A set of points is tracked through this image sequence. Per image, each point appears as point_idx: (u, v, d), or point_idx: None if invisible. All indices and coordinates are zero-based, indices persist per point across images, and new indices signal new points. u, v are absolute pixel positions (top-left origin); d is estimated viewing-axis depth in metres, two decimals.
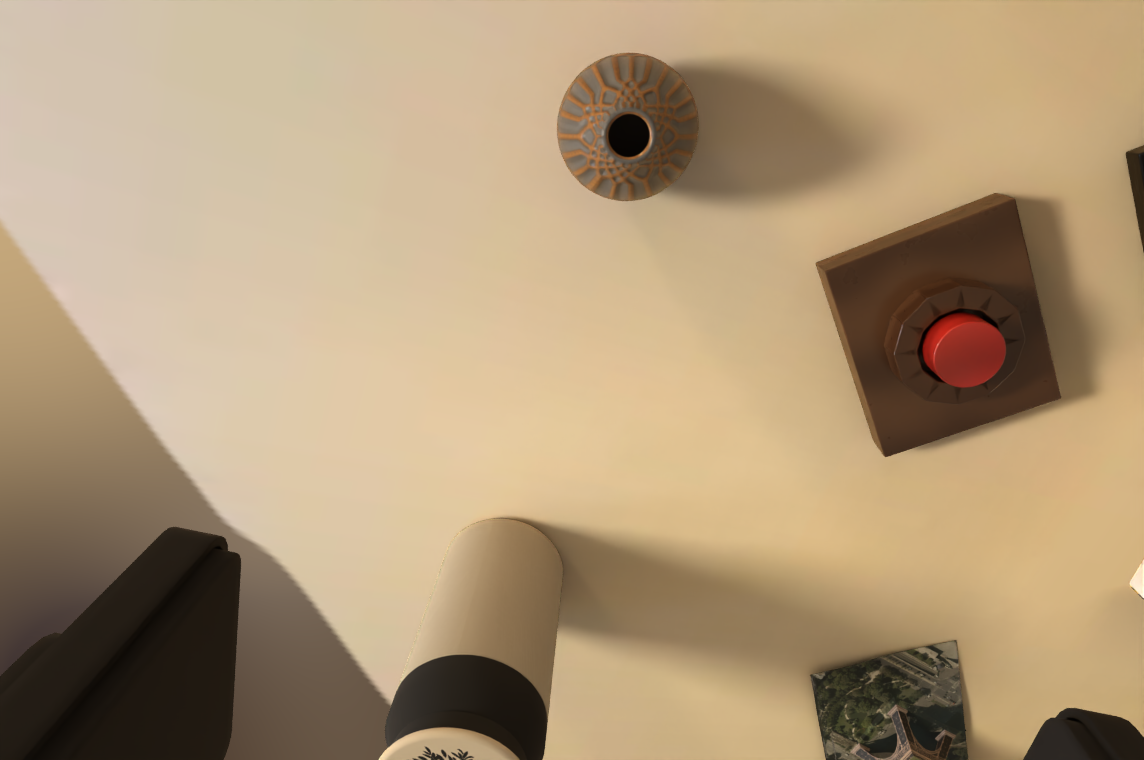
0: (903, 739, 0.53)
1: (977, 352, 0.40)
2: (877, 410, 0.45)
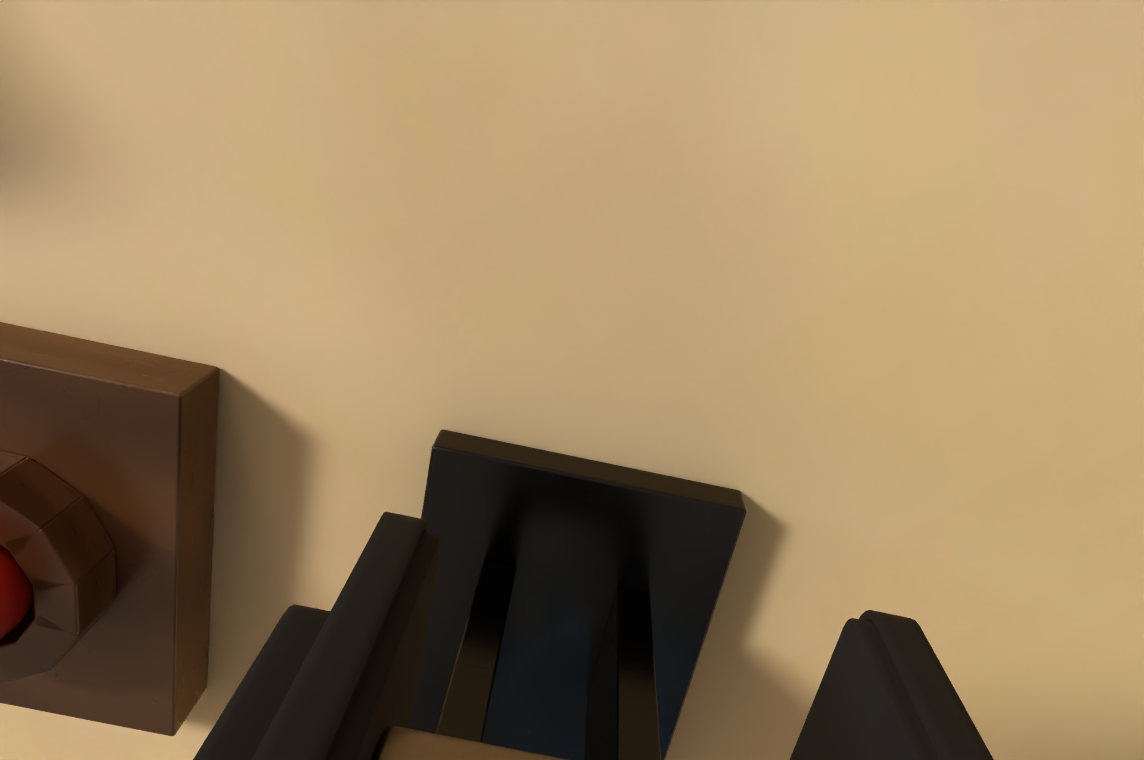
0: None
1: None
2: None
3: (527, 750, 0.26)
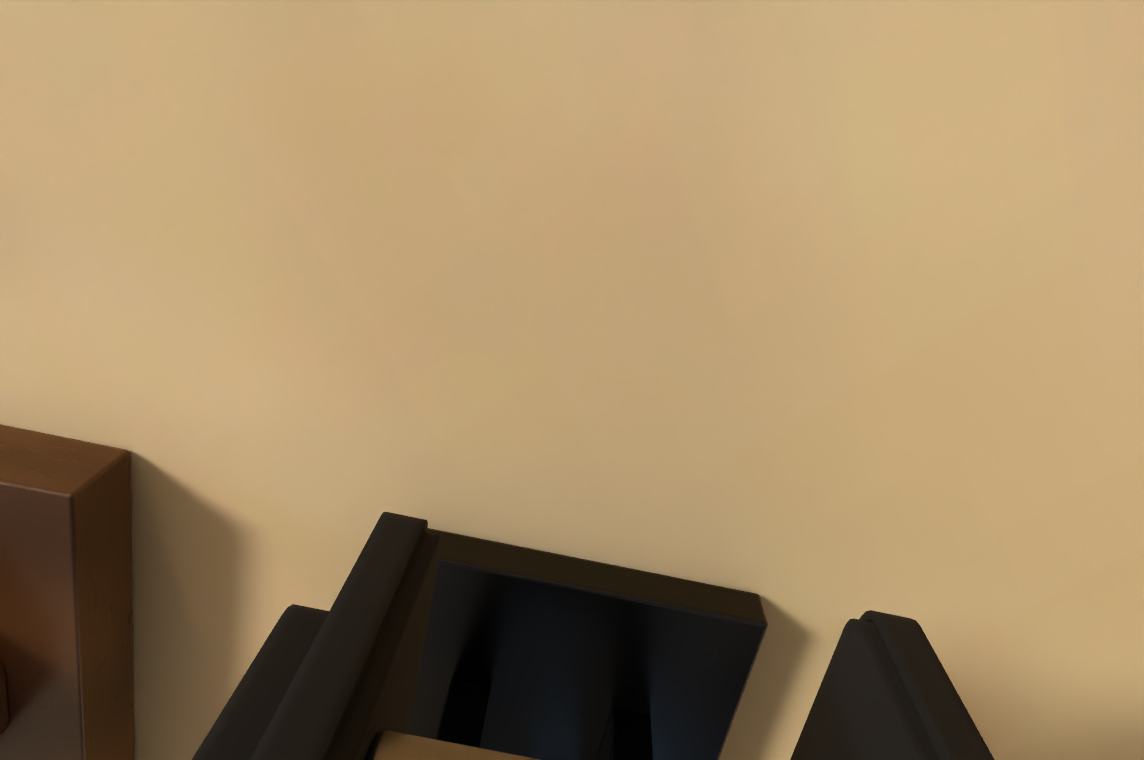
0: None
1: None
2: None
3: None
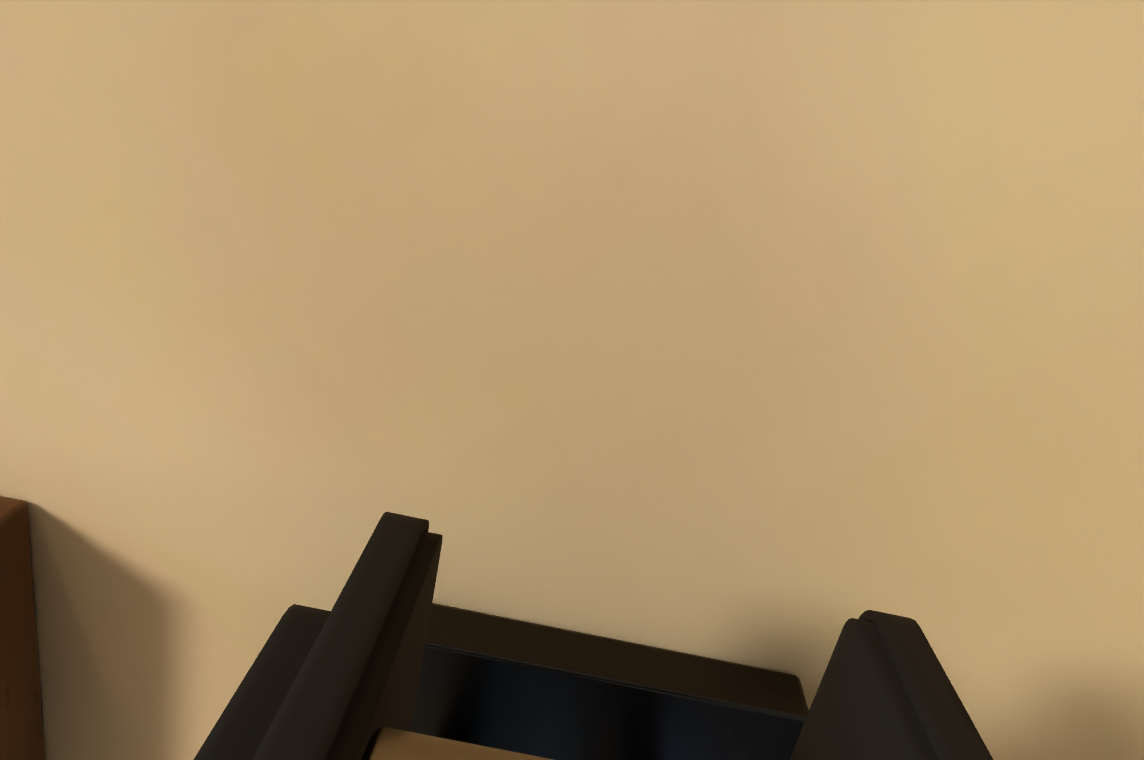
0: None
1: None
2: None
3: None
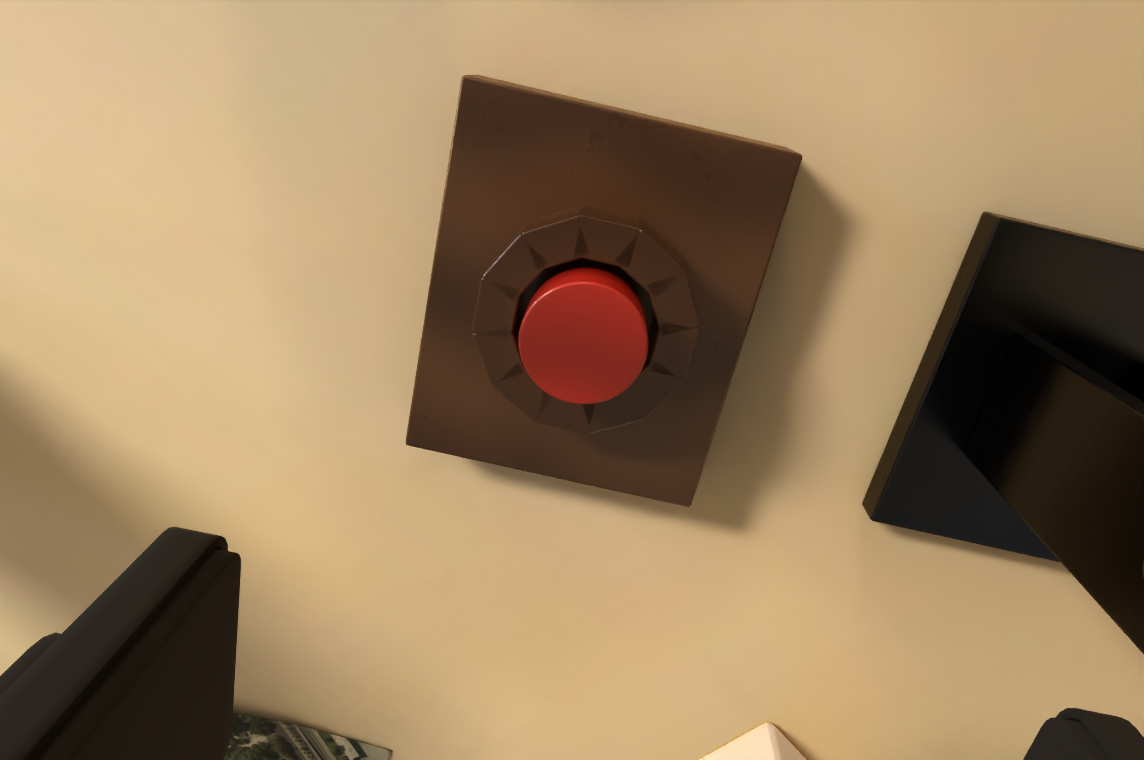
0: None
1: (596, 347, 0.22)
2: (429, 365, 0.25)
3: (1003, 530, 0.28)
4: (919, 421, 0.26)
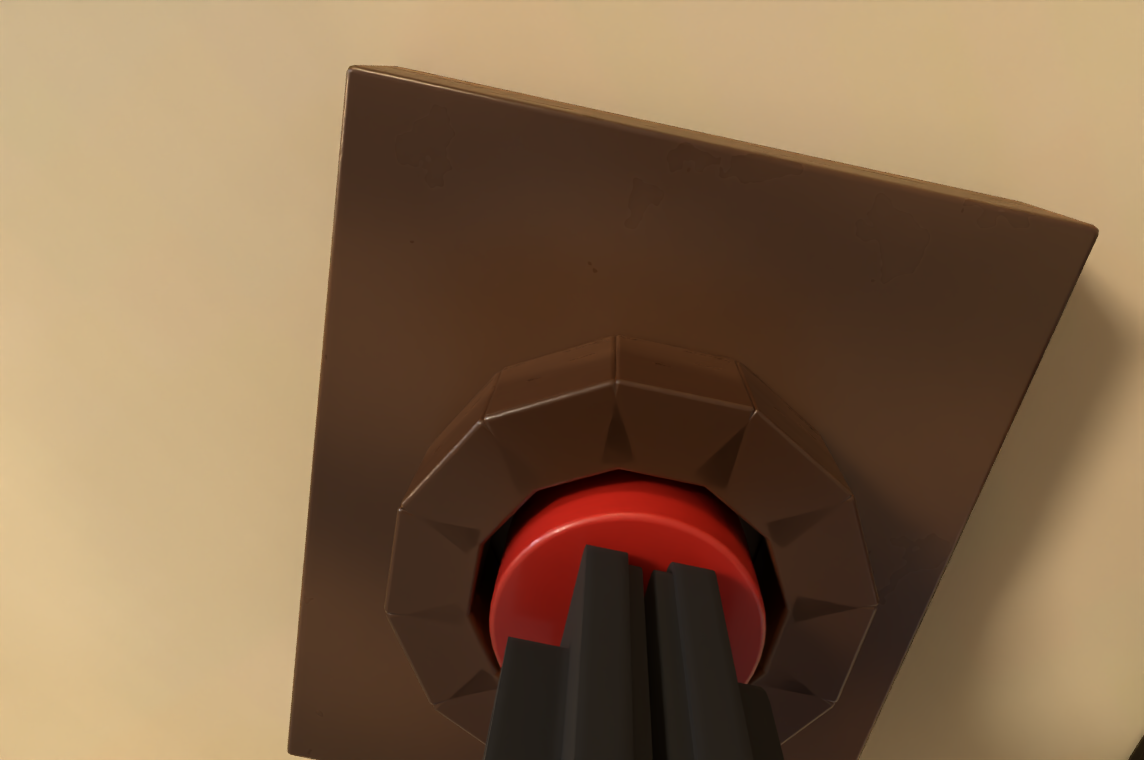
0: None
1: None
2: (321, 627, 0.13)
3: None
4: None
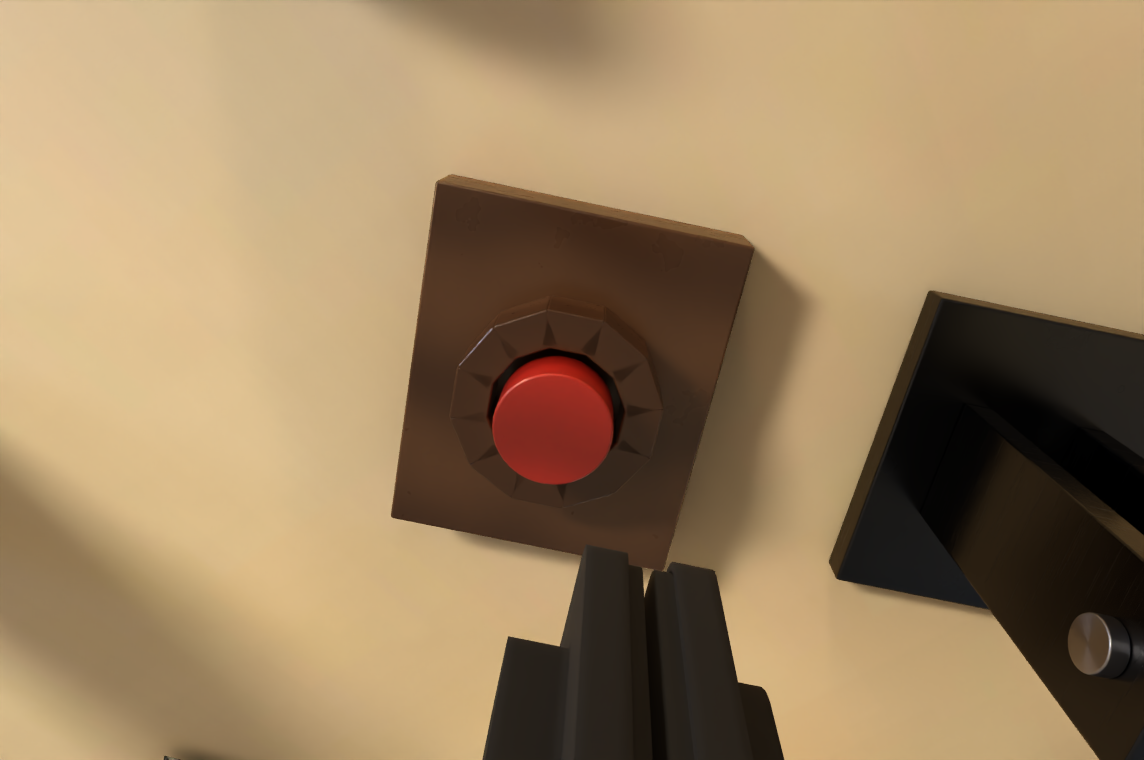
0: None
1: (564, 433, 0.23)
2: (412, 444, 0.27)
3: (962, 586, 0.29)
4: (877, 486, 0.28)
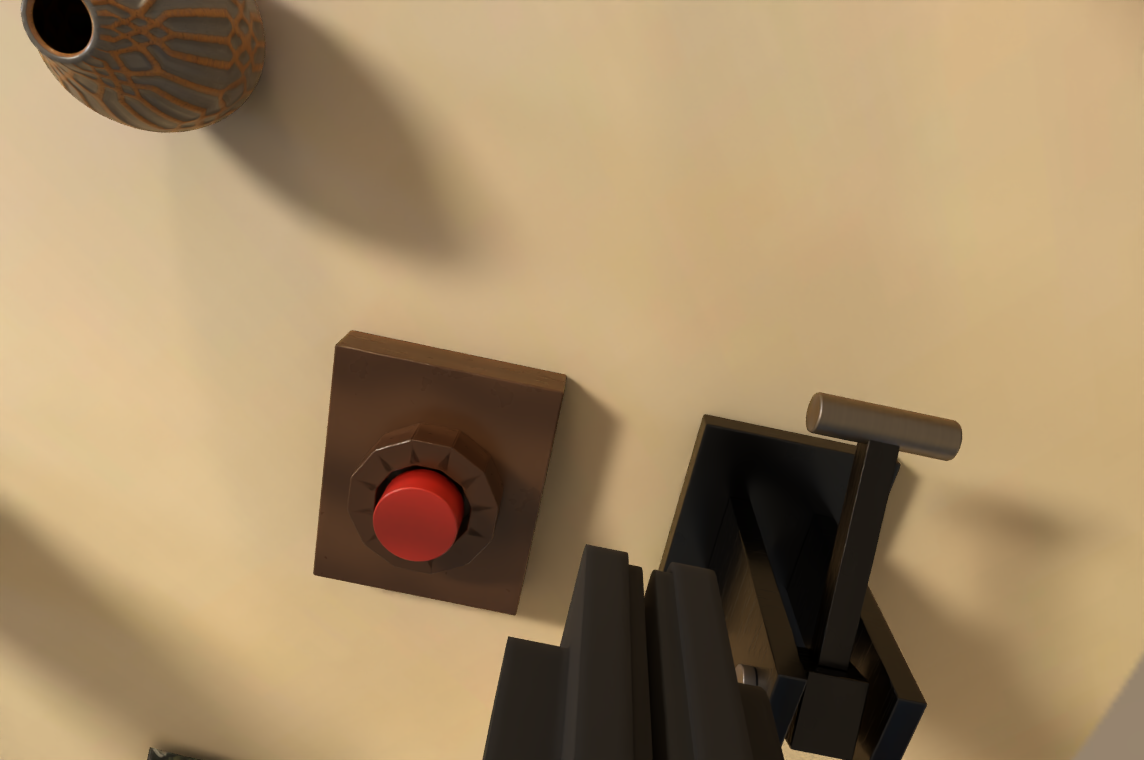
0: None
1: (423, 527, 0.33)
2: (326, 523, 0.37)
3: None
4: (673, 554, 0.37)
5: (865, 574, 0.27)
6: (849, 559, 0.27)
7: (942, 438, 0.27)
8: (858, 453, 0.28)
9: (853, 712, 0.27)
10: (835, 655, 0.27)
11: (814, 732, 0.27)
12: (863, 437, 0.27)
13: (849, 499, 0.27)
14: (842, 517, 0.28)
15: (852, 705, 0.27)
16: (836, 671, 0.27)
